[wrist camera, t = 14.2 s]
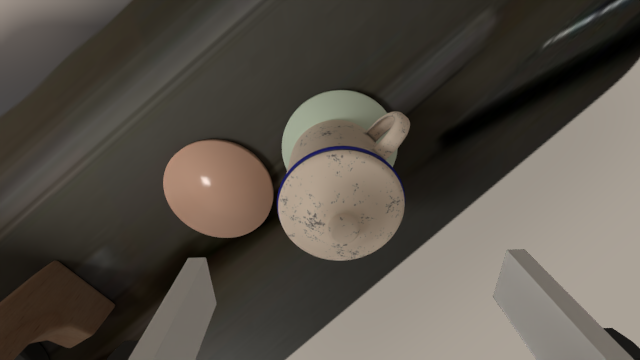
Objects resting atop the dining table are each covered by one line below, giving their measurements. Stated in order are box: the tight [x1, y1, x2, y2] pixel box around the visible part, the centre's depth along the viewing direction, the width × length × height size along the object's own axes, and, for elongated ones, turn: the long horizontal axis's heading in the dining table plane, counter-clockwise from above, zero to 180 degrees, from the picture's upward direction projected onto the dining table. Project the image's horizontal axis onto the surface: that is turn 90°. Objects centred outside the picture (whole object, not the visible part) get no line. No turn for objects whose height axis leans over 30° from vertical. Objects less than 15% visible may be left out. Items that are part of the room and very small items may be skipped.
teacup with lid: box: [277, 111, 410, 261], centre depth 23 cm, size 12×9×12 cm
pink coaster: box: [163, 139, 274, 238], centre depth 31 cm, size 11×11×1 cm
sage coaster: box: [282, 89, 398, 169], centre depth 29 cm, size 11×11×1 cm
